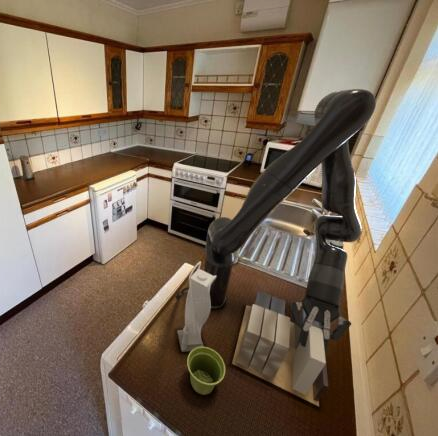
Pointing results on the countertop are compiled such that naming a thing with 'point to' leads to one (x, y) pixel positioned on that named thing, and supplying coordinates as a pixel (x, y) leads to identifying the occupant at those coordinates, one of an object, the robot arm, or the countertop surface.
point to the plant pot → (205, 369)
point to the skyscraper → (196, 309)
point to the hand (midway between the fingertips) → (311, 349)
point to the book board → (273, 346)
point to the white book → (308, 361)
